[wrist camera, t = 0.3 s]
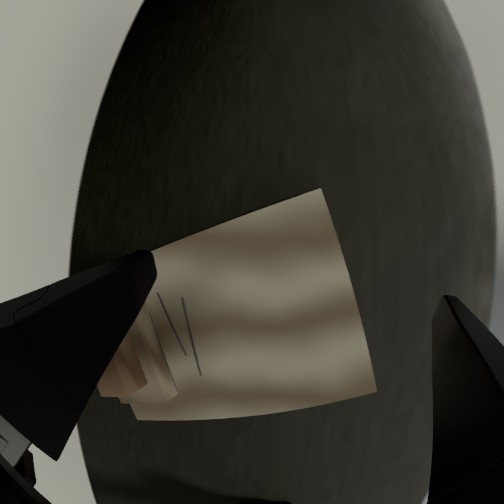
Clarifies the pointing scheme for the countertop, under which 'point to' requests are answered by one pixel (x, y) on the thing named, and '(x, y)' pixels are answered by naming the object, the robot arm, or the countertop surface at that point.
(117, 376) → the block
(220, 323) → the board
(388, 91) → the countertop surface
